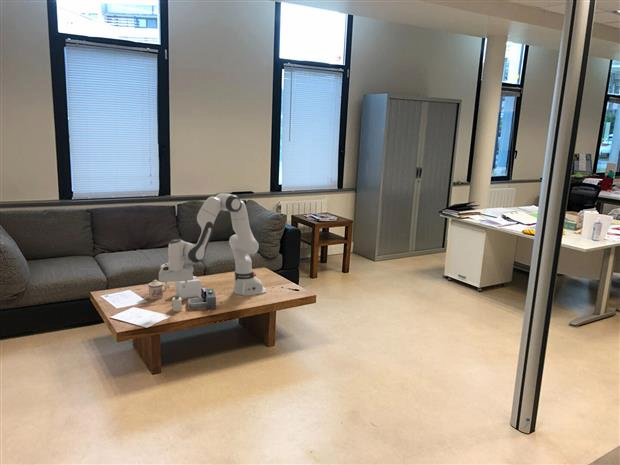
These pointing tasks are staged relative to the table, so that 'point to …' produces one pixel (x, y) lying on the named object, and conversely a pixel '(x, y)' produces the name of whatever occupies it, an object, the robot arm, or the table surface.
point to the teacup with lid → (156, 289)
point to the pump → (177, 303)
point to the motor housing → (199, 304)
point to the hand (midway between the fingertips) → (176, 287)
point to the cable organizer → (188, 288)
